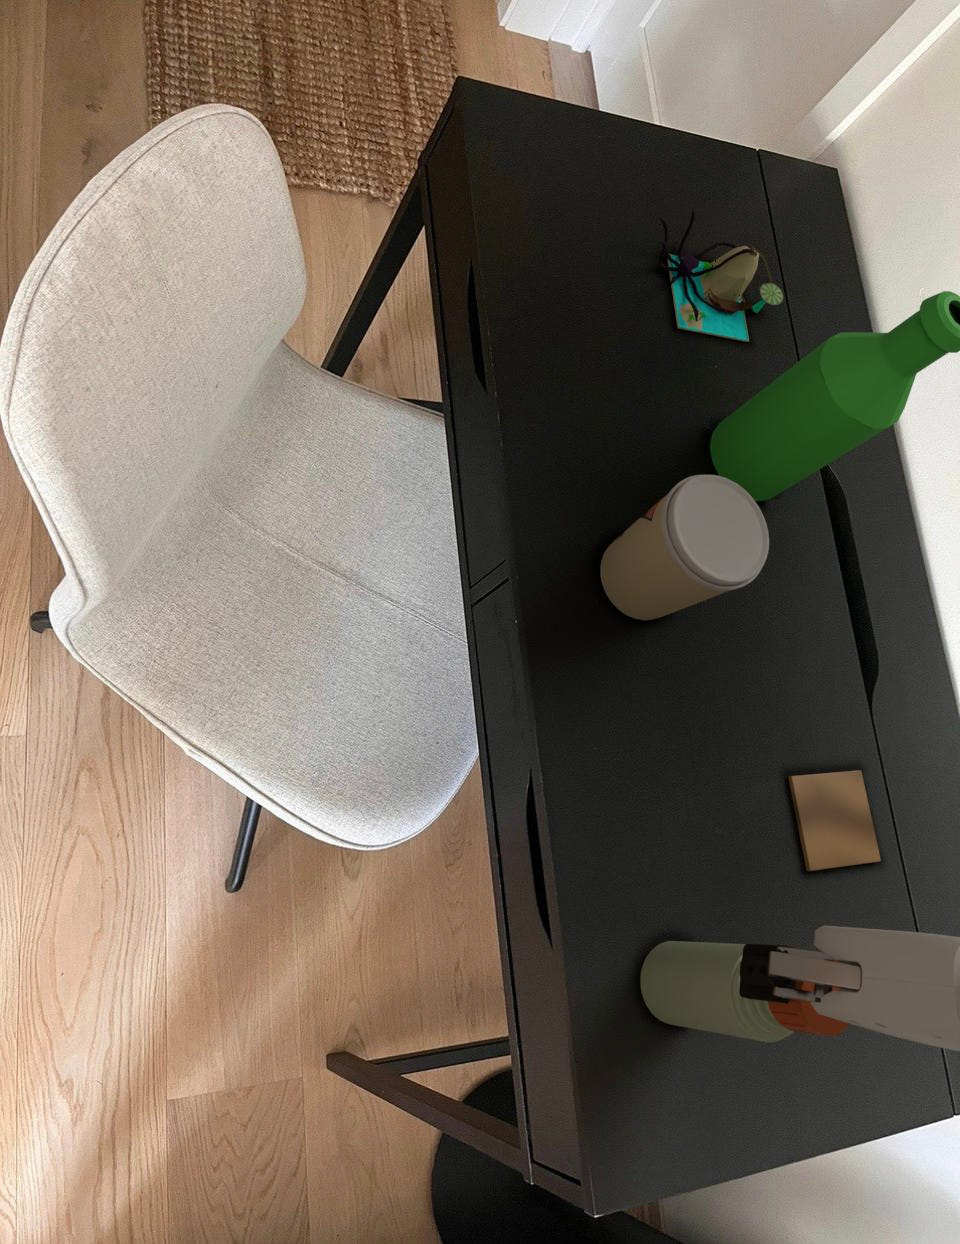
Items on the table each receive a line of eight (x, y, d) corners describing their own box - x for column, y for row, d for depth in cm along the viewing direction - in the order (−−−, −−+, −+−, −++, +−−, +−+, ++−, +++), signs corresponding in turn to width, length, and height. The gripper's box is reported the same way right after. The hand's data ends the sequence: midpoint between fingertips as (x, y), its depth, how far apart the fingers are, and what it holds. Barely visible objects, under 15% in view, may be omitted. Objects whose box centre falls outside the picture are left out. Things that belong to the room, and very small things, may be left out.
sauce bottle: (717, 1003, 72) (873, 1025, 58) (658, 1038, 69) (805, 1070, 55) (688, 928, 73) (834, 931, 58) (628, 960, 70) (766, 971, 56)
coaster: (877, 861, 82) (881, 861, 81) (806, 871, 78) (810, 871, 78) (857, 770, 84) (861, 770, 83) (787, 776, 80) (791, 776, 80)
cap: (778, 949, 60) (813, 950, 57) (825, 982, 60) (862, 985, 57) (757, 1009, 58) (791, 1014, 55) (806, 1043, 58) (842, 1049, 56)
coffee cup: (666, 523, 83) (751, 466, 73) (696, 622, 81) (788, 578, 71) (578, 533, 79) (654, 475, 69) (608, 637, 77) (691, 593, 67)
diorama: (768, 346, 95) (805, 315, 90) (643, 322, 89) (676, 287, 84) (752, 253, 98) (787, 218, 93) (630, 223, 92) (661, 185, 87)
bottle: (690, 431, 87) (894, 268, 65) (754, 413, 91) (967, 253, 69) (730, 515, 86) (951, 377, 64) (793, 493, 90) (1022, 356, 68)
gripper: (1169, 963, 47) (899, 951, 63) (909, 883, 42) (686, 892, 58) (1182, 1125, 45) (896, 1070, 60) (904, 1060, 40) (671, 1019, 55)
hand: (794, 983), depth 59 cm, fingers open, 6 cm apart
